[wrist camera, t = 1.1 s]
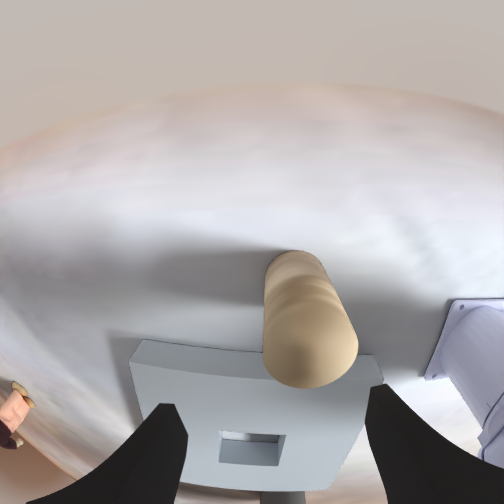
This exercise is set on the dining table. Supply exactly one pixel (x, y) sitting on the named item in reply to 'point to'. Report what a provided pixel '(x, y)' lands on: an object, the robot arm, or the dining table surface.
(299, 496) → the bottle
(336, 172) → the dining table surface
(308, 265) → the peg
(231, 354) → the socket block
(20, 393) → the grandmother figurine
